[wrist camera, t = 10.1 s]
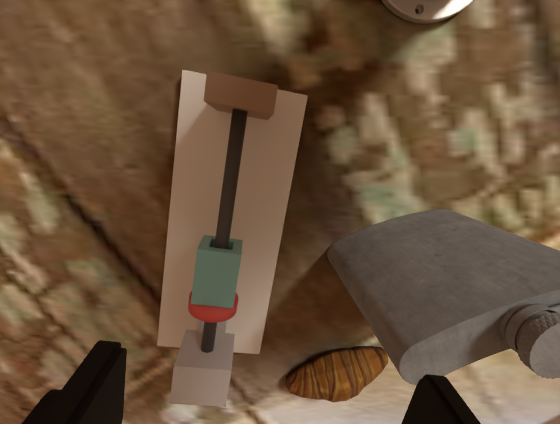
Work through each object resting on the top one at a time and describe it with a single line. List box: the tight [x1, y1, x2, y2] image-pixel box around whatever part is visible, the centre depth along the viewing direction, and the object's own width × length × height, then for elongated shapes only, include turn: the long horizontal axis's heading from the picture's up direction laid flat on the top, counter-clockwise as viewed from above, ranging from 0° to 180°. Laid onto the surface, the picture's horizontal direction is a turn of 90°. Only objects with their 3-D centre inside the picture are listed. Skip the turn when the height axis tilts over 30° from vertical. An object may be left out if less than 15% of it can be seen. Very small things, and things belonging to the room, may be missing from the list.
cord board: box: [157, 70, 308, 407], centre depth 28 cm, size 30×12×10 cm, turn 170°
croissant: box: [286, 346, 388, 402], centre depth 36 cm, size 14×7×5 cm, turn 106°
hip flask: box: [327, 209, 560, 385], centre depth 25 cm, size 16×4×20 cm, turn 106°
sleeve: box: [191, 235, 243, 308], centre depth 26 cm, size 5×4×4 cm
